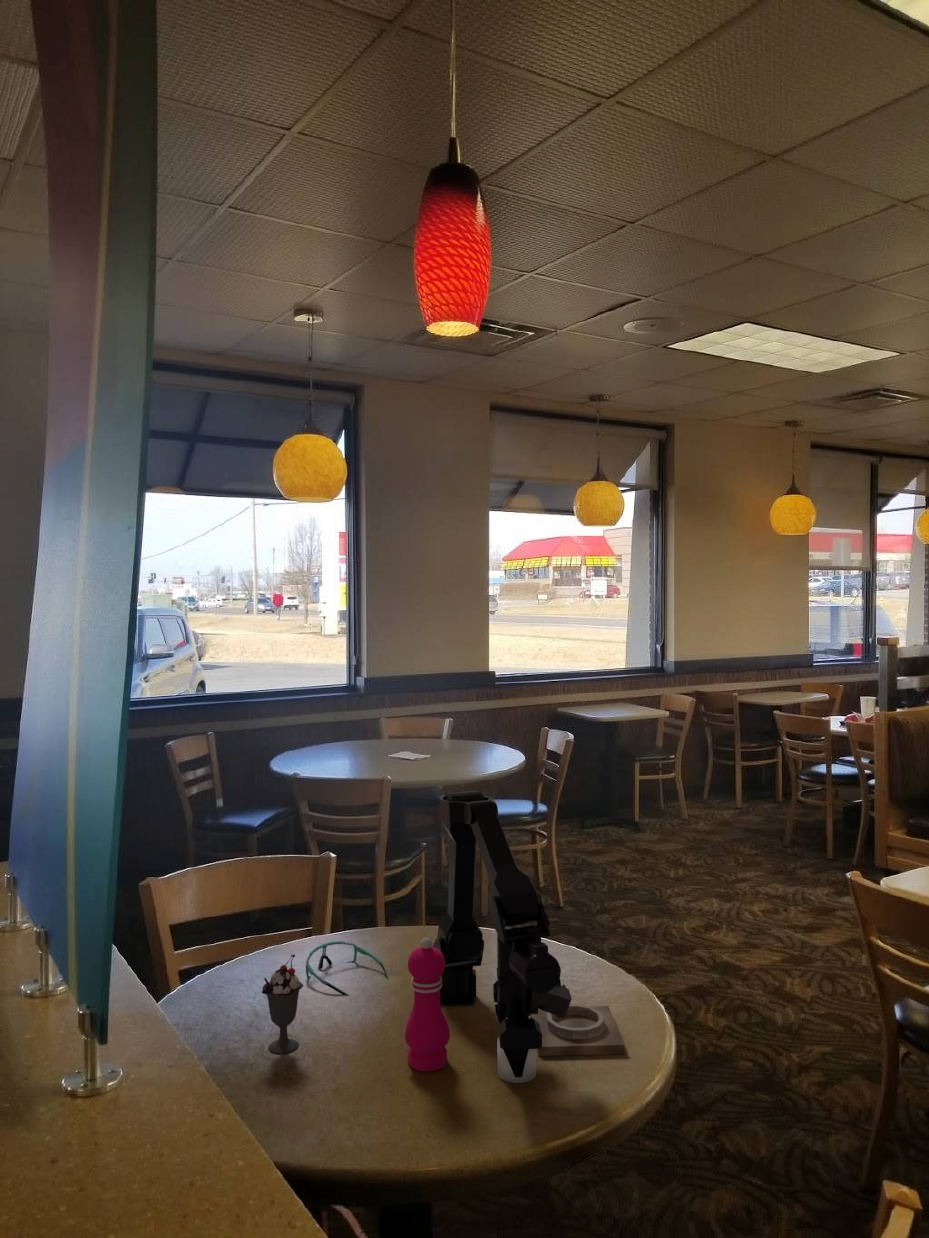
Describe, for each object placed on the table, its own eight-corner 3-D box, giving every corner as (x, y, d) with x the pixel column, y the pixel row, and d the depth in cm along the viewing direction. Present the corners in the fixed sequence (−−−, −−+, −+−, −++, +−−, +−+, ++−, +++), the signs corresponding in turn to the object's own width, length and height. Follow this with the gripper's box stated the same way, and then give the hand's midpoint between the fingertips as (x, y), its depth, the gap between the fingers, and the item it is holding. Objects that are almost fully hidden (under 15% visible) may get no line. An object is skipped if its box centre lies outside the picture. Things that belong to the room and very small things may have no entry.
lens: (498, 1083, 138) (498, 1050, 138) (496, 1063, 144) (496, 1031, 144) (537, 1082, 138) (537, 1049, 138) (533, 1062, 144) (533, 1030, 144)
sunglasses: (349, 956, 188) (350, 933, 188) (396, 984, 178) (397, 960, 177) (293, 977, 178) (294, 953, 178) (339, 1008, 168) (341, 982, 167)
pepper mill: (416, 1077, 140) (414, 949, 139) (397, 1057, 146) (396, 934, 146) (457, 1066, 143) (456, 941, 143) (438, 1046, 149) (436, 926, 149)
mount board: (538, 1055, 146) (538, 1037, 146) (530, 1016, 160) (529, 999, 160) (624, 1053, 146) (624, 1035, 146) (608, 1014, 160) (608, 997, 160)
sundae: (311, 1040, 152) (310, 952, 152) (291, 1059, 146) (289, 967, 145) (277, 1034, 154) (275, 947, 154) (255, 1053, 148) (254, 962, 147)
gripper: (576, 992, 131) (576, 1097, 132) (559, 943, 150) (560, 1036, 150) (499, 993, 131) (500, 1099, 131) (492, 944, 150) (493, 1037, 150)
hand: (516, 1066), depth 141 cm, fingers closed on lens, 6 cm apart
